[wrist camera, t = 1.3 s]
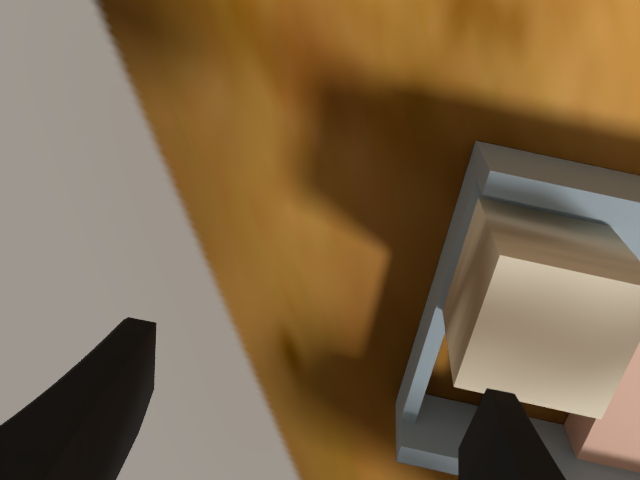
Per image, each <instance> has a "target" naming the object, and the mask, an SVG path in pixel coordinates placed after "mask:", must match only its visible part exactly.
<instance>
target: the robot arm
mask: <svg viewBox="0 0 640 480" xmlns="http://www.w3.org/2000/svg"><path fill="white" fill-rule="evenodd" d="M155 345H156V323H155V322H149V321H145V320H139V319H134V318H129V317H128V318H127V319H124V320H123V321H122V322H121V323H120V324H119V325H118V326H117V327H116V328H115V329H114V330H113V331H112V332H111V333H110V334H109V335H108V336H107V337H106V338H105V339H104V340H103V341H102V342H101V343H99V344H98V345H97V346H96V347H95V348H94V349H93V350H92V351H91V352H90V353H89V354H88V355H87V356H85V357H84V358H83V359H82V360H81V361H80V362H79V363H78V364H77V365H75V366H74V367H73V368H72V369H71V370H70V371H68V372H67V373H66V374H65V375H64V376H63V377H62V378H60V379H59V380H58V381H57V382H56V383H55V384H54V385H52V386H51V387H50V388H49V389H48V390H46V391H45V392H44V393H42V394H41V395H40V396H39V397H37V398H36V399H35V400H34V401H32V402H31V403H30V404H28V405H27V406H26V407H25V408H23V409H22V410H21V411H19V412H18V413H17V414H16V415H14V416H13V417H12V418H10V419H9V420H7V421H6V422H5V423H3V424H2V425H0V480H116V478H117V476H118V474H119V472H120V470H121V468H122V466H123V464H124V462H125V459H126V458H127V456H128V454H129V451H130V449H131V447H132V445H133V443H134V441H135V439H136V437H137V435H138V433H139V430H140V427H141V424H142V422H143V419H144V416H145V413H146V411H147V407H148V405H149V402H150V399H151V396H152V393H153V390H154V372H155ZM458 480H566V478H565V477H564V475H563V474H562V472H561V470H560V469H559V467H558V466H557V464H556V462H555V461H554V459H553V458H552V456H551V454H550V453H549V451H548V449H547V448H546V446H545V444H544V443H543V441H542V439H541V438H540V436H539V434H538V432H537V431H536V429H535V427H534V426H533V424H532V422H531V420H530V419H529V417H528V415H527V414H526V412H525V410H524V408H523V407H522V405H521V403H520V402H519V400H518V398H517V397H516V395H515V394H514V393H509V392H504V391H499V390H494V389H489V388H487V389H486V391H485V393H484V395H483V397H482V399H481V401H480V404H479V406H478V408H477V410H476V412H475V414H474V416H473V418H472V420H471V423H470V425H469V427H468V429H467V431H466V433H465V435H464V437H463V440H462V442H461V444H460V446H459V448H458Z"/></svg>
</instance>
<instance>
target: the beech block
mask: <svg viewBox="0 0 640 480" xmlns="http://www.w3.org/2000/svg"><path fill="white" fill-rule="evenodd" d="M442 313H443V319H444V326H445V333H446V340H447V346H448V353H449V360H450V367H451V373H452V380H453V387H456V388H461V389H465V390H470V391H474V392H479V393H483V394H484V393H485V391H486V389H487V388H489V389H494V390H499V391H504V392H509V393H514V394H515V395H516V397H517V398H518V400H519V401H520V402H524V403H529V404H533V405H538V406H542V407H547V408H551V409H556V410H560V411H565V412H569V413H574V414H578V415H583V416H587V417H592V418H596V419H602V417H603V415H604V413H605V411H606V409H607V407H608V405H609V403H610V401H611V399H612V397H613V395H614V393H615V391H616V389H617V387H618V385H619V383H620V381H621V379H622V377H623V375H624V373H625V371H626V369H627V367H628V365H629V363H630V361H631V359H632V357H633V355H634V352H635V350H636V348H637V346H638V344H639V342H640V261H639V259H638V258H637V257H636V256H635V255H634V254H633V252H632V251H631V250H630V249H629V248H628V246H627V245H626V244H625V243H624V242H623V240H622V239H621V238H620V237H619V236H618V234H617V233H616V232H615V231H614V230H613V229H612V227H611V226H608V225H603V224H599V223H594V222H589V221H585V220H580V219H576V218H571V217H566V216H562V215H557V214H552V213H548V212H543V211H538V210H534V209H529V208H524V207H520V206H515V205H511V204H506V203H501V202H497V201H492V200H487V199H483V198H478V200H477V203H476V206H475V209H474V212H473V216H472V219H471V222H470V225H469V228H468V231H467V234H466V237H465V241H464V244H463V247H462V250H461V253H460V256H459V259H458V262H457V265H456V269H455V272H454V275H453V278H452V281H451V284H450V287H449V290H448V294H447V297H446V300H445V303H444V306H443V309H442Z"/></svg>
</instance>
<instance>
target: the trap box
mask: <svg viewBox="0 0 640 480" xmlns="http://www.w3.org/2000/svg"><path fill="white" fill-rule="evenodd" d="M478 198H483V199H487V200H492V201H497V202H501V203H506V204H511V205H515V206H520V207H524V208H529V209H534V210H538V211H543V212H548V213H552V214H557V215H562V216H566V217H571V218H576V219H580V220H585V221H589V222H594V223H599V224H603V225H608V226H611V227H612V229H613V230H614V231H615V232H616V233H617V234H618V236H619V237H620V238H621V239H622V240H623V242H624V243H625V244H626V245H627V246H628V248H629V249H630V250H631V251H632V252H633V254H634V255H635V256H636V257H637V258H638V259H639V261H640V176H639V175H634V174H630V173H625V172H620V171H616V170H611V169H606V168H602V167H597V166H592V165H588V164H583V163H578V162H574V161H569V160H564V159H559V158H555V157H550V156H545V155H541V154H536V153H531V152H527V151H522V150H517V149H513V148H508V147H503V146H499V145H494V144H489V143H485V142H480V141H475V144H474V148H473V151H472V154H471V158H470V161H469V164H468V167H467V171H466V174H465V177H464V180H463V184H462V187H461V190H460V193H459V197H458V200H457V203H456V207H455V210H454V213H453V216H452V220H451V223H450V226H449V229H448V233H447V236H446V239H445V243H444V246H443V249H442V252H441V256H440V259H439V262H438V265H437V269H436V272H435V275H434V279H433V282H432V285H431V288H430V292H429V295H428V298H427V301H426V305H425V308H424V311H423V315H422V318H421V321H420V324H419V328H418V331H417V334H416V337H415V341H414V344H413V347H412V351H411V354H410V357H409V360H408V364H407V367H406V370H405V373H404V377H403V380H402V383H401V387H400V390H399V393H398V396H397V400H396V403H395V404H396V462H400V463H404V464H409V465H413V466H418V467H422V468H427V469H431V470H436V471H440V472H445V473H449V474H454V475H458V448H459V446H460V444H461V442H462V440H463V437H464V435H465V433H466V431H467V429H468V427H469V425H470V423H471V420H472V418H473V416H474V414H475V412H476V410H477V408H478V406H477V405H472V404H468V403H463V402H459V401H454V400H449V399H445V398H440V397H436V396H431V395H427V394H425V391H426V388H427V385H428V382H429V379H430V376H431V373H432V370H433V367H434V364H435V361H436V358H437V355H438V352H439V349H440V346H441V343H442V340H443V337H444V334H445V326H444V319H443V313H442V309H443V306H444V303H445V300H446V297H447V294H448V290H449V287H450V284H451V281H452V278H453V275H454V272H455V269H456V265H457V262H458V259H459V256H460V253H461V250H462V247H463V244H464V241H465V237H466V234H467V231H468V228H469V225H470V222H471V219H472V216H473V212H474V209H475V206H476V203H477V200H478ZM519 402H520V401H519ZM529 419H530V420H531V422H532V424H533V426H534V427H535V429H536V431H537V432H538V434H539V436H540V438H541V439H542V441H543V443H544V444H545V446H546V448H547V449H548V451H549V453H550V454H551V456H552V458H553V459H554V461H555V462H556V464H557V466H558V467H559V469H560V470H561V472H562V474H563V475H564V477H565V478H566V480H640V342H639V344H638V346H637V348H636V350H635V352H634V355H633V357H632V359H631V361H630V363H629V365H628V367H627V369H626V371H625V373H624V375H623V377H622V379H621V381H620V383H619V385H618V387H617V389H616V391H615V393H614V395H613V397H612V399H611V401H610V403H609V405H608V407H607V409H606V411H605V413H604V415H603V417H602V419H596V418H592V417H587V416H583V415H578V414H574V413H569V415H568V417H567V419H566V421H565V423H564V425H562V424H558V423H553V422H549V421H544V420H540V419H535V418H531V417H529Z"/></svg>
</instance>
